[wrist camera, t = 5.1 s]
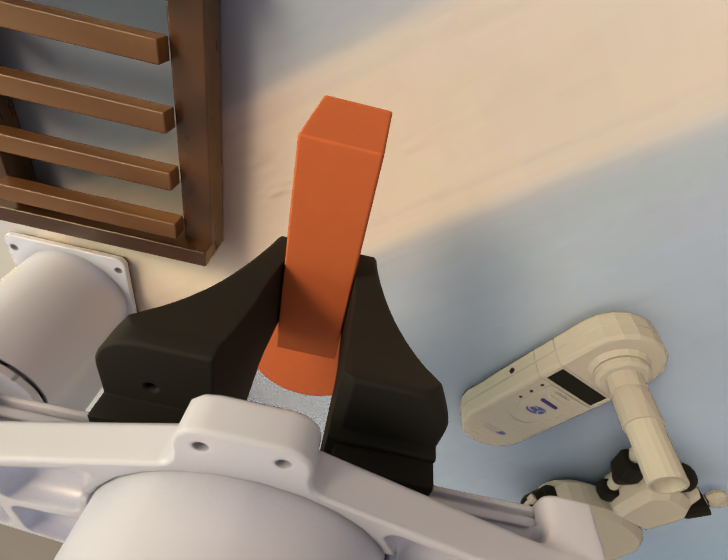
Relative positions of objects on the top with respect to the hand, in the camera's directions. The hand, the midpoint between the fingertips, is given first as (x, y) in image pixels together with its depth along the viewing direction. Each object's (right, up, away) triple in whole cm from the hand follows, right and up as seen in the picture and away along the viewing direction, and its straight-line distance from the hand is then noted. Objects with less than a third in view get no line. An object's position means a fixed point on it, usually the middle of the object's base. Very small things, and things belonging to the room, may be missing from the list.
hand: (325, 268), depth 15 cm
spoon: (0, 0, +2) cm, 2 cm away
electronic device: (+15, -7, +15) cm, 22 cm away
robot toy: (+23, -18, +23) cm, 37 cm away
